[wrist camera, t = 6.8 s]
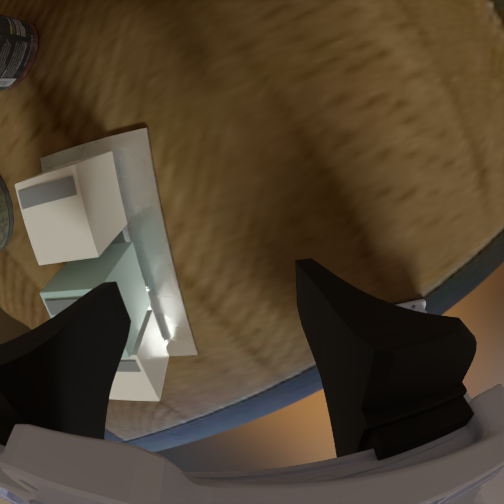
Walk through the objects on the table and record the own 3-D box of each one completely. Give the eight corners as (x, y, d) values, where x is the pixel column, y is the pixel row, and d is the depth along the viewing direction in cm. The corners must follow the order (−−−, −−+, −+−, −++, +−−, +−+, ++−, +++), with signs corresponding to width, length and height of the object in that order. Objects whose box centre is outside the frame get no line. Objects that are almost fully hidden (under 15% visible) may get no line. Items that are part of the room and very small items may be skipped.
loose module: (132, 241, 19) (99, 289, 14) (150, 302, 21) (129, 359, 16) (79, 249, 19) (38, 293, 14) (100, 305, 21) (71, 357, 16)
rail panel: (148, 127, 17) (142, 128, 16) (198, 351, 26) (196, 362, 24) (42, 157, 17) (32, 161, 16) (110, 354, 26) (106, 364, 24)
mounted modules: (112, 151, 17) (73, 164, 12) (169, 355, 24) (159, 402, 19) (57, 166, 17) (13, 185, 12) (123, 356, 24) (108, 400, 19)
